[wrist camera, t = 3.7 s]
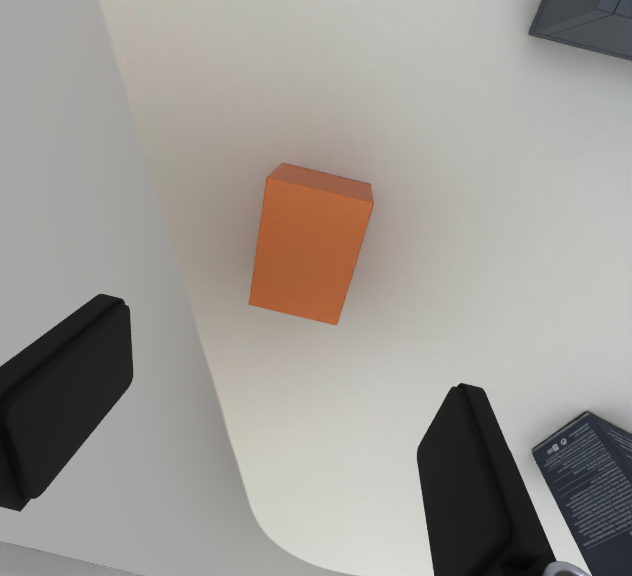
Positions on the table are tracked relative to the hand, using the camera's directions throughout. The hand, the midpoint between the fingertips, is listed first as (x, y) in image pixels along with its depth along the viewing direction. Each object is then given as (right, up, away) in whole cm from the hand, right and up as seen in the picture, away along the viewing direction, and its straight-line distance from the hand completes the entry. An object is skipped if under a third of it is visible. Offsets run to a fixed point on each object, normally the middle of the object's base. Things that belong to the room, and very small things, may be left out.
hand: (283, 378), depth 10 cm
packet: (+1, +6, +11) cm, 13 cm away
